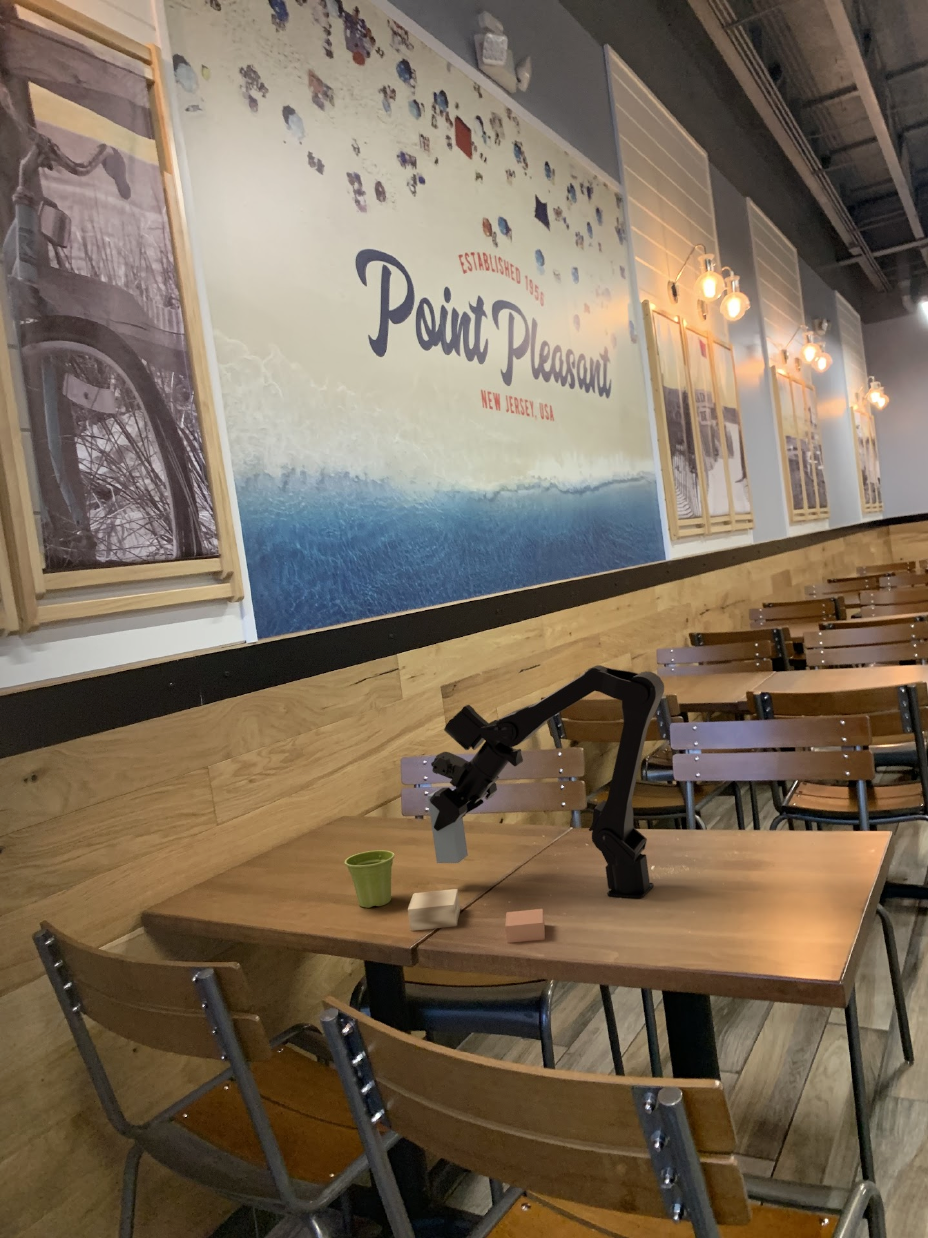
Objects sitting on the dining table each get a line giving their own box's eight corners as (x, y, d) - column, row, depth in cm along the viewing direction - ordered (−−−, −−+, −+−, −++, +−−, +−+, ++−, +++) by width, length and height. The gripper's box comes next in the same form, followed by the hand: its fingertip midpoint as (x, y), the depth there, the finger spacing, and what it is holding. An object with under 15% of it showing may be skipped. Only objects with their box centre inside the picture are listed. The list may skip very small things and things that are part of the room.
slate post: (467, 855, 178) (458, 789, 178) (458, 863, 174) (448, 795, 174) (447, 855, 180) (437, 789, 180) (436, 863, 176) (427, 796, 176)
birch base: (460, 910, 166) (457, 888, 166) (456, 927, 158) (453, 904, 158) (416, 915, 166) (413, 893, 166) (410, 932, 158) (407, 909, 158)
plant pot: (375, 891, 182) (369, 848, 182) (410, 896, 176) (404, 852, 176) (340, 908, 175) (334, 863, 174) (375, 914, 169) (369, 868, 168)
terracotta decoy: (544, 926, 153) (542, 908, 153) (545, 941, 147) (542, 922, 147) (508, 930, 154) (506, 912, 154) (507, 944, 148) (505, 926, 148)
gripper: (474, 728, 183) (432, 784, 188) (432, 749, 166) (387, 810, 171) (516, 765, 180) (472, 822, 185) (478, 790, 163) (431, 852, 168)
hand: (441, 825), depth 178 cm, fingers closed on slate post, 4 cm apart
